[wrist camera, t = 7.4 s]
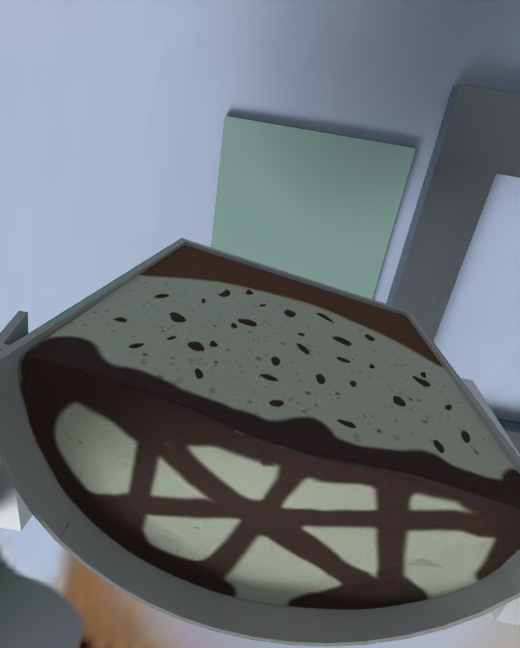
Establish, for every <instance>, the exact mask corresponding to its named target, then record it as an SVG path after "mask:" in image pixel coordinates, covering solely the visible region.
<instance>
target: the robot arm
mask: <svg viewBox="0 0 520 648" xmlns="http://www.w3.org/2000/svg"><path fill="white" fill-rule="evenodd" d="M460 379H461V380H462V381H463V383H464V384H465V385H466V387H467V388H468V389H469V391H470V392H471V393H472V395H473V396H474V397H475V399H476V400H477V401H478V403H479V404H480V405H481V407H482V408H483V409H484V411H485V412H486V413H487V415H488V416H489V417H490V419H491V420H492V421H493V423H494V424H495V425H496V427H497V428H498V429H499V431H500V432H501V434H502V435H503V436H504V438H505V439H506V440H507V442H508V443H509V444H510V446H511V447H512V448H513V450H514V451H515V452H516V454H517V455H518V456H519V458H520V454H519V452H518V451H517V449H516V448H515V446H514V444H513V443H512V441H511V440H510V438H509V437H508V435H507V434H506V432H505V430H504V429H503V427H502V426H501V424H500V423H499V421H498V419H497V418H496V416H495V415H494V413H493V412H492V410H491V409H490V407H489V405H488V404H487V402H486V401H485V399H484V398H483V396H482V395H481V393H480V391H479V390H478V388H477V387H476V385H475V384H474V382H473V380H468V379H462V378H460ZM32 515H33V514H32V513H31V512H30V510H29V509H28V507H27V506H26V504H25V503H24V501H23V499H22V498H21V496H20V495H19V493H18V492H17V490H16V489H15V487H14V486H13V484H12V483H11V481H10V479H9V477H8V475H7V473H6V471H5V468H4V466H3V464H2V462H1V460H0V527H2V528H7V529H12V530H18V531H22V529H23V528H24V526H25V525H26V523H27V522H28V520H29V519H30V518H31V516H32ZM492 613H493V615H494V618H495V621H499V622H505V623H510V624H515V625H520V597H519V598H517V599H515V600H513V601H511V602H509V603H507V604H505V605H503V606H501V607H499V608H497V609H495V610H493V611H492Z"/></svg>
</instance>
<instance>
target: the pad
mask: <svg viewBox="0 0 520 648" xmlns="http://www.w3.org/2000/svg"><path fill="white" fill-rule="evenodd" d="M415 150H416V148H412V147H406V146H400V145H395V144H389V143H383V142H377V141H371V140H365V139H359V138H353V137H347V136H342V135H336V134H330V133H324V132H318V131H312V130H306V129H300V128H294V127H288V126H283V125H277V124H271V123H265V122H259V121H253V120H247V119H241V118H235V117H229V116H225V120H224V129H223V139H222V149H221V158H220V168H219V178H218V187H217V197H216V206H215V216H214V226H213V235H212V245H211V248H214V249H217V250H220V251H223V252H226V253H229V254H232V255H235V256H238V257H242V258H245V259H248V260H251V261H254V262H257V263H260V264H263V265H266V266H269V267H273V268H276V269H279V270H282V271H285V272H288V273H291V274H294V275H297V276H300V277H304V278H307V279H310V280H313V281H316V282H319V283H322V284H325V285H328V286H332V287H335V288H338V289H341V290H344V291H347V292H350V293H353V294H356V295H359V296H363V297H366V298H369V299H372V298H373V295H374V292H375V288H376V285H377V281H378V278H379V274H380V271H381V267H382V264H383V261H384V257H385V254H386V250H387V247H388V243H389V240H390V236H391V233H392V229H393V226H394V223H395V219H396V216H397V212H398V209H399V205H400V202H401V198H402V195H403V192H404V188H405V185H406V181H407V178H408V174H409V171H410V167H411V164H412V160H413V157H414V154H415Z"/></svg>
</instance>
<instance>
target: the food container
mask: <svg viewBox="0 0 520 648" xmlns="http://www.w3.org/2000/svg"><path fill="white" fill-rule="evenodd" d="M0 460H1V462H2V464H3V466H4V468H5V471H6V473H7V475H8V477H9V479H10V481H11V483H12V484H13V486H14V487H15V489H16V490H17V492H18V493H19V495H20V496H21V498H22V499H23V501H24V503H25V504H26V506H27V507H28V509H29V510H30V512H31V513H32V514H33V515H34V516H35V518H36V519H37V520H38V521H39V522H40V523H41V524H42V526H43V527H44V528H45V529H46V530H47V531H48V533H49V534H50V535H51V536H52V537H53V538H54V539H55V541H57V542H58V543H59V544H60V545H61V546H62V547H63V548H64V549H65V550H67V551H68V552H69V553H70V554H71V555H72V556H73V557H74V558H76V559H77V560H78V561H79V562H80V563H81V564H82V565H83V566H85V567H86V568H88V569H89V570H90V571H92V572H93V573H95V574H96V575H97V576H99V577H100V578H102V579H103V580H104V581H106V582H107V583H109V584H110V585H112V586H113V587H115V588H116V589H118V590H120V591H122V592H123V593H125V594H127V595H129V596H131V597H132V598H134V599H136V600H138V601H140V602H141V603H143V604H145V605H147V606H149V607H151V608H154V609H156V610H158V611H161V612H163V613H165V614H168V615H170V616H172V617H175V618H177V619H179V620H182V621H185V622H188V623H191V624H194V625H197V626H200V627H203V628H206V629H210V630H213V631H216V632H220V633H224V634H229V635H233V636H238V637H242V638H247V639H251V640H257V641H265V642H272V643H280V644H288V645H306V646H347V645H366V644H374V643H381V642H388V641H394V640H401V639H407V638H411V637H415V636H419V635H423V634H427V633H432V632H436V631H440V630H444V629H447V628H450V627H452V626H455V625H458V624H461V623H463V622H466V621H469V620H472V619H474V618H477V617H480V616H483V615H485V614H487V613H489V612H491V611H493V610H495V609H497V608H499V607H501V606H503V605H505V604H507V603H509V602H511V601H513V600H515V599H517V598H519V597H520V458H519V456H518V455H517V454H516V452H515V451H514V450H513V448H512V447H511V446H510V444H509V443H508V442H507V440H506V439H505V438H504V436H503V435H502V434H501V432H500V431H499V429H498V428H497V427H496V425H495V424H494V423H493V421H492V420H491V419H490V417H489V416H488V415H487V413H486V412H485V411H484V409H483V408H482V407H481V405H480V404H479V403H478V401H477V400H476V399H475V397H474V396H473V395H472V393H471V392H470V391H469V389H468V388H467V387H466V385H465V384H464V383H463V381H462V380H461V379H460V377H459V376H458V375H457V373H456V372H455V370H454V369H453V368H452V366H451V365H450V364H449V362H448V361H447V360H446V358H445V357H444V356H443V354H442V353H441V352H440V350H439V349H438V348H437V346H436V345H435V344H434V342H433V341H432V340H431V338H430V337H429V336H428V334H427V333H426V332H425V330H424V329H423V328H422V326H421V325H420V324H419V322H418V321H417V320H416V318H415V317H414V316H413V314H412V313H411V312H409V311H406V310H403V309H400V308H397V307H394V306H390V305H387V304H384V303H381V302H378V301H375V300H372V299H369V298H366V297H363V296H359V295H356V294H353V293H350V292H347V291H344V290H341V289H338V288H335V287H332V286H328V285H325V284H322V283H319V282H316V281H313V280H310V279H307V278H304V277H300V276H297V275H294V274H291V273H288V272H285V271H282V270H279V269H276V268H273V267H269V266H266V265H263V264H260V263H257V262H254V261H251V260H248V259H245V258H242V257H238V256H235V255H232V254H229V253H226V252H223V251H220V250H217V249H214V248H210V247H207V246H204V245H201V244H198V243H195V242H192V241H189V240H186V239H183V238H181V239H179V240H178V241H176V242H175V243H173V244H171V245H170V246H168V247H167V248H165V249H163V250H162V251H160V252H159V253H157V254H155V255H154V256H152V257H151V258H149V259H147V260H146V261H144V262H143V263H141V264H139V265H138V266H136V267H134V268H133V269H131V270H130V271H128V272H126V273H125V274H123V275H122V276H120V277H118V278H117V279H115V280H114V281H112V282H110V283H109V284H107V285H106V286H104V287H102V288H101V289H99V290H98V291H96V292H94V293H93V294H91V295H90V296H88V297H86V298H85V299H83V300H82V301H80V302H78V303H77V304H75V305H74V306H72V307H70V308H69V309H67V310H66V311H64V312H62V313H61V314H59V315H58V316H56V317H54V318H53V319H51V320H50V321H48V322H46V323H45V324H43V325H42V326H40V327H38V328H37V329H35V330H34V331H32V332H30V333H29V334H28V312H23V311H18V313H17V314H16V315H15V316H14V317H13V319H12V320H11V321H10V322H9V323H8V325H7V326H6V327H5V328H4V329H3V330H2V332H1V333H0Z"/></svg>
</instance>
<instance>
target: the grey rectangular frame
mask: <svg viewBox="0 0 520 648" xmlns="http://www.w3.org/2000/svg"><path fill="white" fill-rule="evenodd" d="M496 173H497V174H503V175H509V176H514V177H520V94H516V93H510V92H504V91H498V90H492V89H486V88H480V87H474V86H468V85H462V84H460V85H456V86H453V88H452V92H451V95H450V98H449V102H448V105H447V108H446V111H445V115H444V118H443V121H442V124H441V128H440V131H439V134H438V137H437V141H436V144H435V147H434V150H433V154H432V157H431V160H430V163H429V167H428V170H427V173H426V176H425V180H424V183H423V186H422V189H421V193H420V196H419V199H418V202H417V206H416V209H415V212H414V215H413V219H412V222H411V225H410V228H409V232H408V235H407V238H406V241H405V245H404V248H403V251H402V255H401V258H400V261H399V264H398V268H397V271H396V274H395V277H394V281H393V284H392V287H391V290H390V294H389V297H388V300H387V303H386V304H387V305H390V306H394V307H397V308H400V309H403V310H406V311H409V312H411V313H412V314H413V316H414V317H415V318H416V320H417V321H418V322H419V324H420V325H421V326H422V328H423V329H424V330H425V332H426V333H427V334H428V336H429V337H430V338H431V340H432V341H433V340H434V337H435V334H436V332H437V329H438V326H439V324H440V321H441V318H442V316H443V313H444V310H445V308H446V305H447V302H448V300H449V297H450V294H451V292H452V289H453V286H454V284H455V281H456V278H457V276H458V273H459V270H460V268H461V265H462V262H463V260H464V257H465V254H466V252H467V249H468V246H469V244H470V241H471V238H472V236H473V233H474V230H475V228H476V225H477V222H478V220H479V217H480V214H481V212H482V209H483V206H484V204H485V201H486V198H487V196H488V193H489V190H490V188H491V185H492V182H493V180H494V177H495V175H496ZM498 421H499V423H500V424H501V426H502V427H503V429H504V430H505V432H506V434H507V435H508V437H509V438H510V440H511V441H512V443H513V444H514V446H515V448H516V449H517V451H518V452H519V454H520V423H518V422H513V421H507V420H502V419H498Z"/></svg>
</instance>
